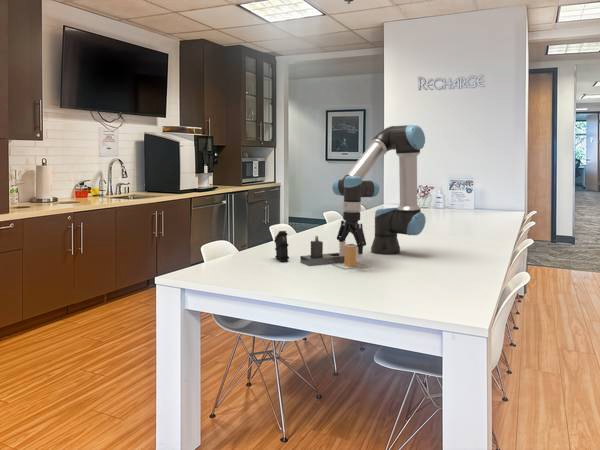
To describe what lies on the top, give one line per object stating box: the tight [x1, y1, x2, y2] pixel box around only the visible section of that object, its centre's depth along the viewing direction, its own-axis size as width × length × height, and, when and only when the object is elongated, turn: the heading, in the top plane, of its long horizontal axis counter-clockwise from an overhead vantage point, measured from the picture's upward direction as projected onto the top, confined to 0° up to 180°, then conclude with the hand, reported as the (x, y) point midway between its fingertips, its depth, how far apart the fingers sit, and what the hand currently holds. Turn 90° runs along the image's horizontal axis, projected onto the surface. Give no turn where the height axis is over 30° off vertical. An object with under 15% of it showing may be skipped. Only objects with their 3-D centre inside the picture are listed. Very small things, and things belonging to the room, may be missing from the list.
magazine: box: [273, 230, 290, 263], centre depth 243 cm, size 4×13×15 cm, turn 16°
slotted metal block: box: [299, 252, 344, 267], centre depth 239 cm, size 22×9×4 cm, turn 117°
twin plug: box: [310, 235, 324, 258], centre depth 236 cm, size 4×4×12 cm
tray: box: [329, 261, 372, 271], centre depth 231 cm, size 14×12×1 cm
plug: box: [343, 243, 358, 268], centre depth 231 cm, size 4×4×10 cm
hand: (350, 258), depth 230 cm, fingers open, 13 cm apart
